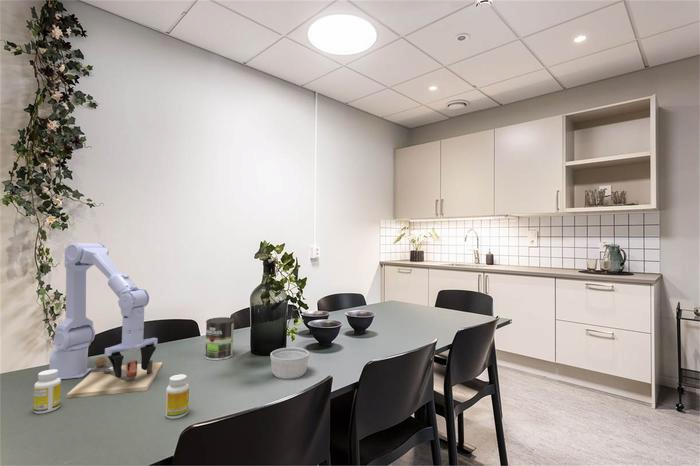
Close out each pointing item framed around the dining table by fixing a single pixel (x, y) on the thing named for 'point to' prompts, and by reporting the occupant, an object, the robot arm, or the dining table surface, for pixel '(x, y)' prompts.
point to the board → (114, 381)
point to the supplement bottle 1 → (47, 392)
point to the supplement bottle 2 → (177, 397)
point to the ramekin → (289, 362)
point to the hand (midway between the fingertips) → (131, 372)
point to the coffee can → (219, 338)
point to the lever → (125, 374)
